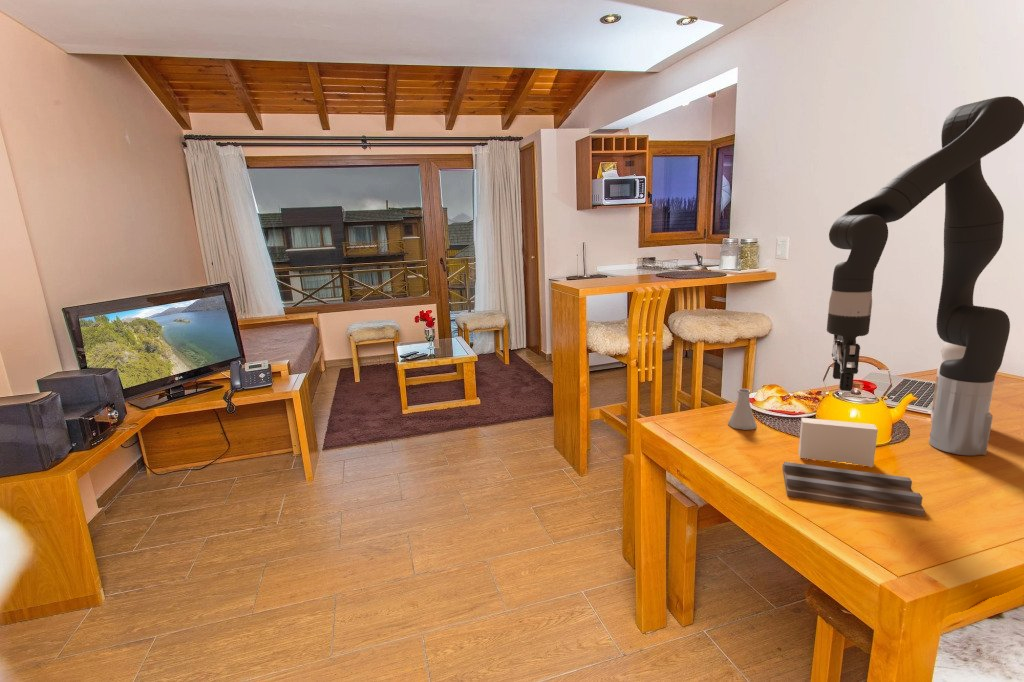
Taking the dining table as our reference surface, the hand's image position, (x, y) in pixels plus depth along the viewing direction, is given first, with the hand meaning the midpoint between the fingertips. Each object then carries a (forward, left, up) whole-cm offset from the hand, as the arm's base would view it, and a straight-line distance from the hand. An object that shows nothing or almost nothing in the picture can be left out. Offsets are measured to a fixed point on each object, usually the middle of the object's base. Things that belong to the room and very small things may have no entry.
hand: (841, 384), depth 108 cm
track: (0, +14, -18) cm, 23 cm away
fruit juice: (-31, -32, -18) cm, 48 cm away
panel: (0, 0, -18) cm, 18 cm away
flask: (+19, -15, -18) cm, 30 cm away
